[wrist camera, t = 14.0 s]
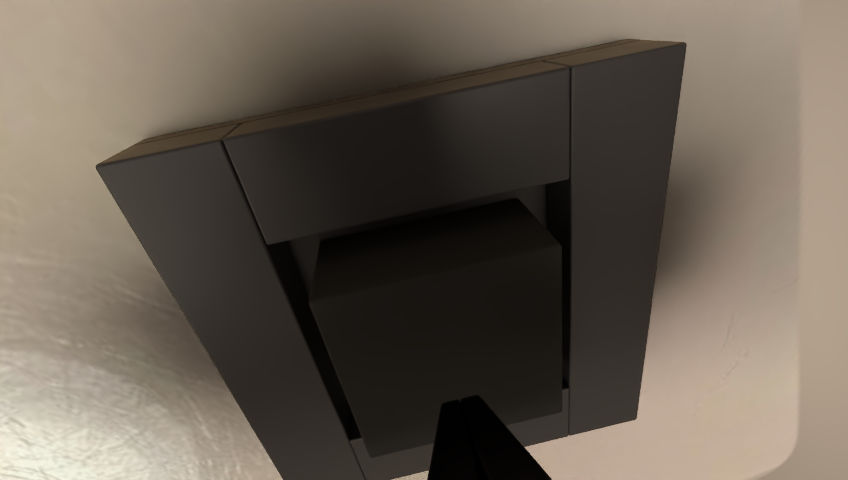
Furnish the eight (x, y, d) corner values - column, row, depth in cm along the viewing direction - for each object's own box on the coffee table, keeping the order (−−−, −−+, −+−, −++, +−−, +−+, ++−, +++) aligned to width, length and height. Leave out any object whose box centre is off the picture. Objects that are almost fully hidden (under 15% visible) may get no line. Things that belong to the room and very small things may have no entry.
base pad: (629, 38, 10) (688, 41, 8) (605, 374, 16) (637, 420, 14) (143, 139, 10) (92, 165, 8) (304, 447, 16) (296, 503, 14)
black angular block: (518, 196, 11) (563, 245, 9) (527, 344, 14) (563, 413, 11) (318, 240, 11) (306, 302, 8) (368, 382, 14) (369, 460, 11)
